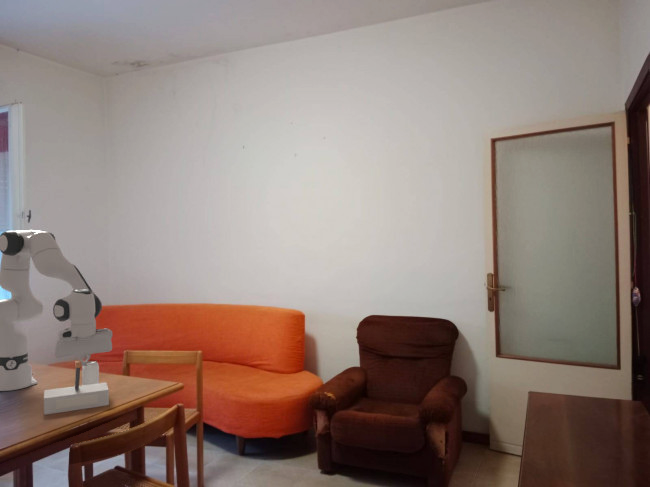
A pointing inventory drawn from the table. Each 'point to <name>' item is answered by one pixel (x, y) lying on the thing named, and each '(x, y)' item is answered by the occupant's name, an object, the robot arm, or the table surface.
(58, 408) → the box
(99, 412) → the table surface
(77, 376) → the lever
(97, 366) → the can
